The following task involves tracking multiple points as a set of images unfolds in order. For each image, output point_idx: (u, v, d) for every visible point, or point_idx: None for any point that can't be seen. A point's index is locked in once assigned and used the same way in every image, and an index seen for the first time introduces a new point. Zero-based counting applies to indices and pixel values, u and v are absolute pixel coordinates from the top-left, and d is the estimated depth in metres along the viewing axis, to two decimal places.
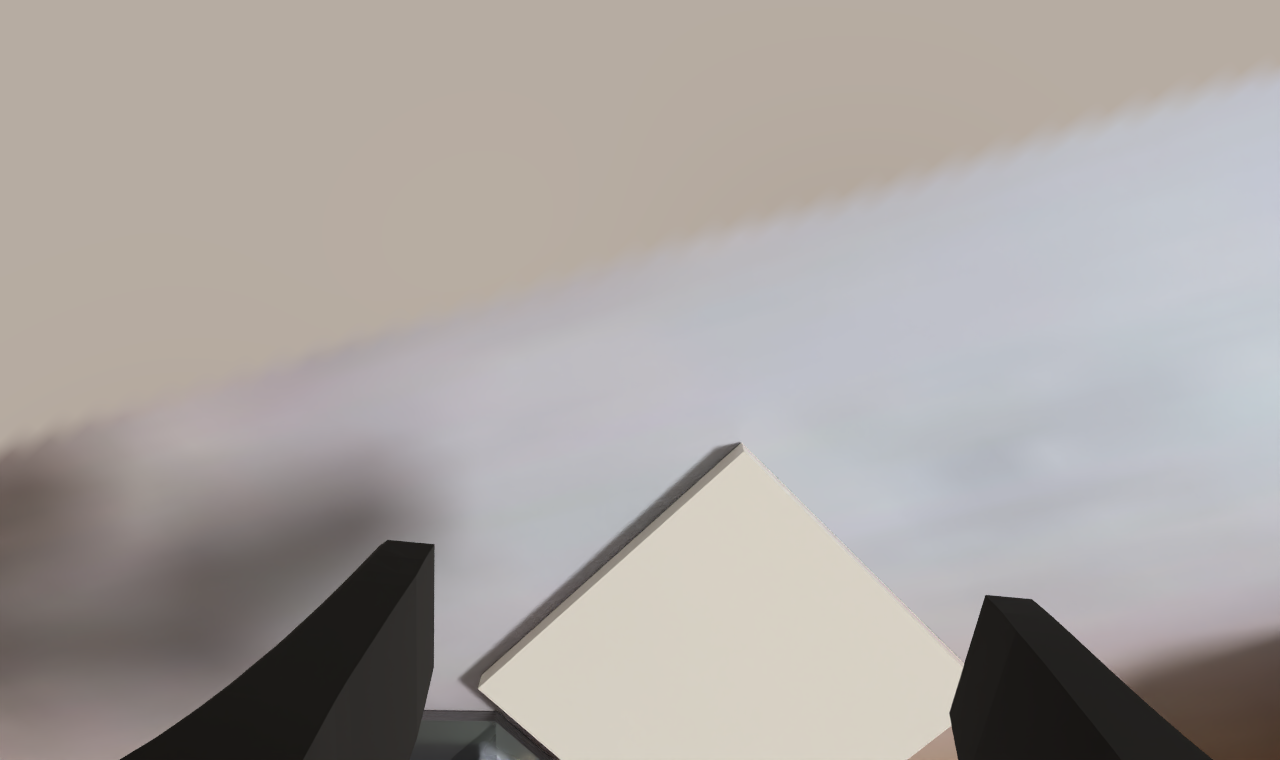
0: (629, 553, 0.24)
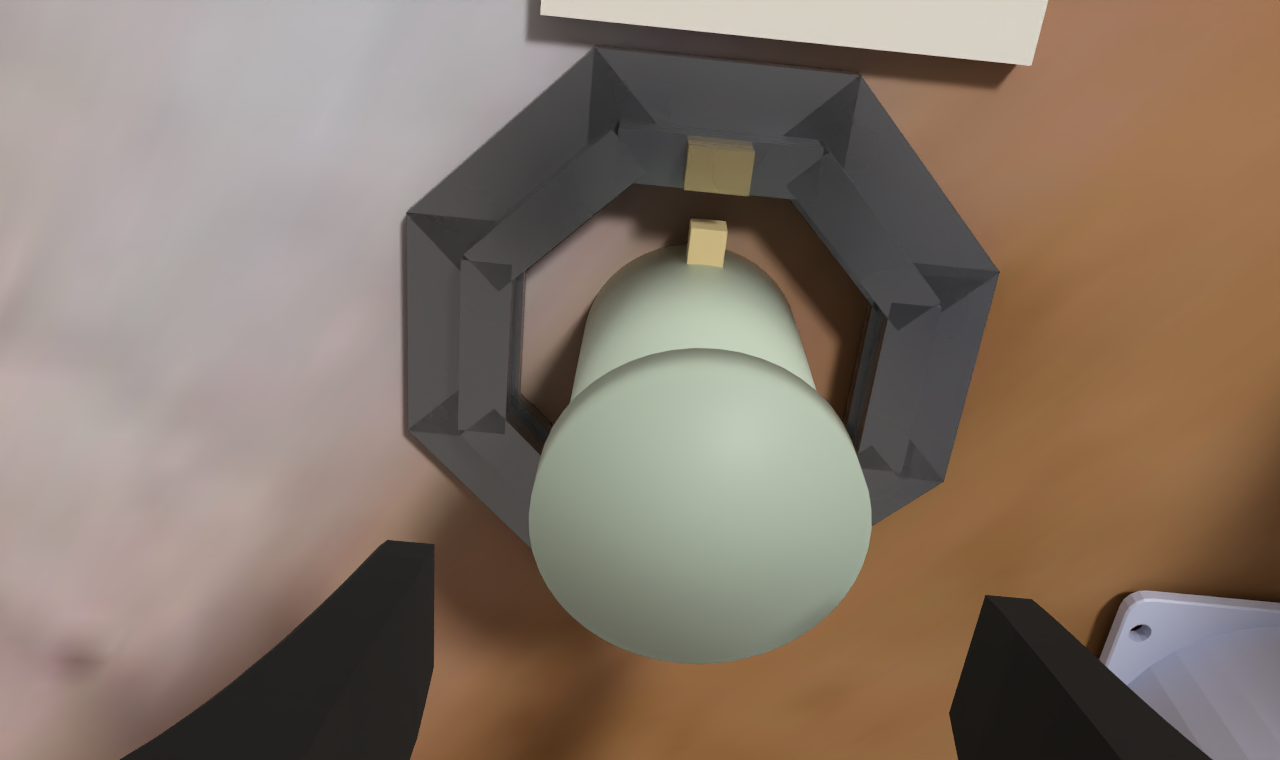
0: None
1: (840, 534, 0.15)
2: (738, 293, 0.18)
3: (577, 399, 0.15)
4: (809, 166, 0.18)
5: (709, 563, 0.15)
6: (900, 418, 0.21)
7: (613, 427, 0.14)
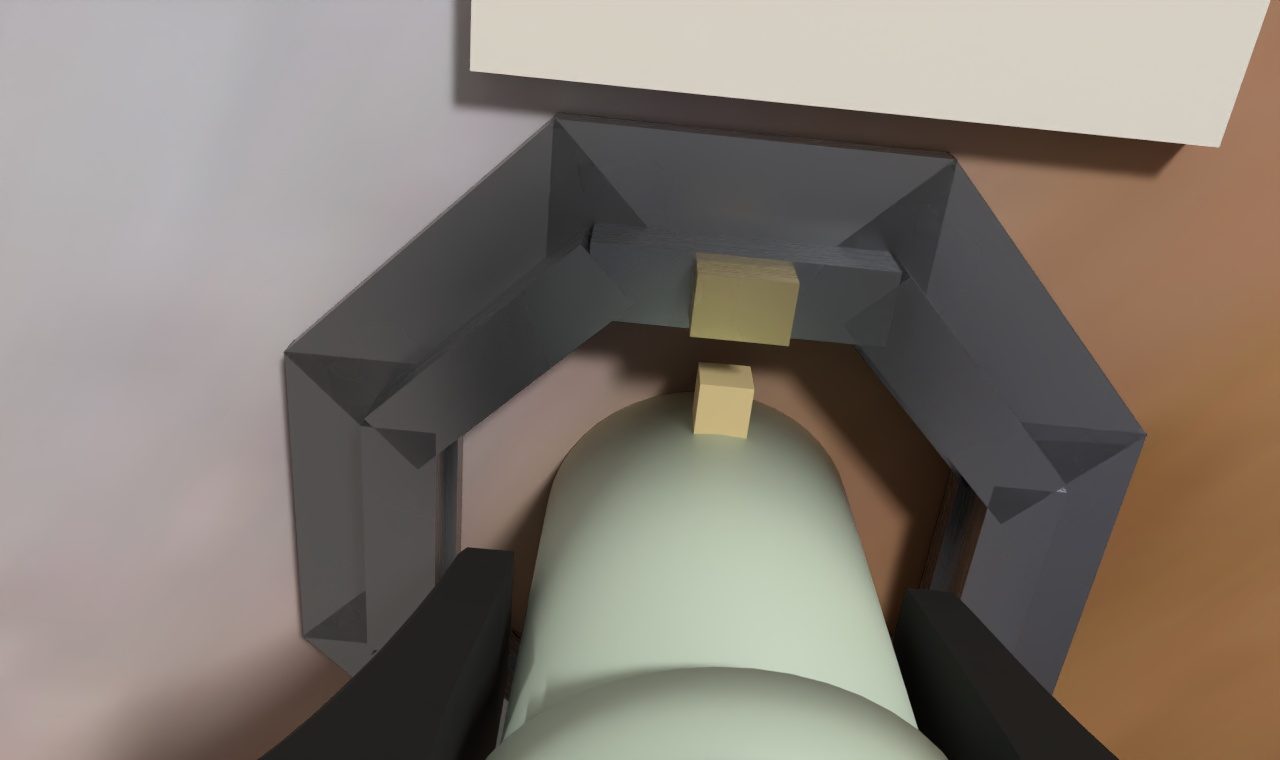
0: None
1: None
2: (772, 493, 0.12)
3: (511, 747, 0.09)
4: (879, 297, 0.12)
5: None
6: (998, 637, 0.14)
7: None
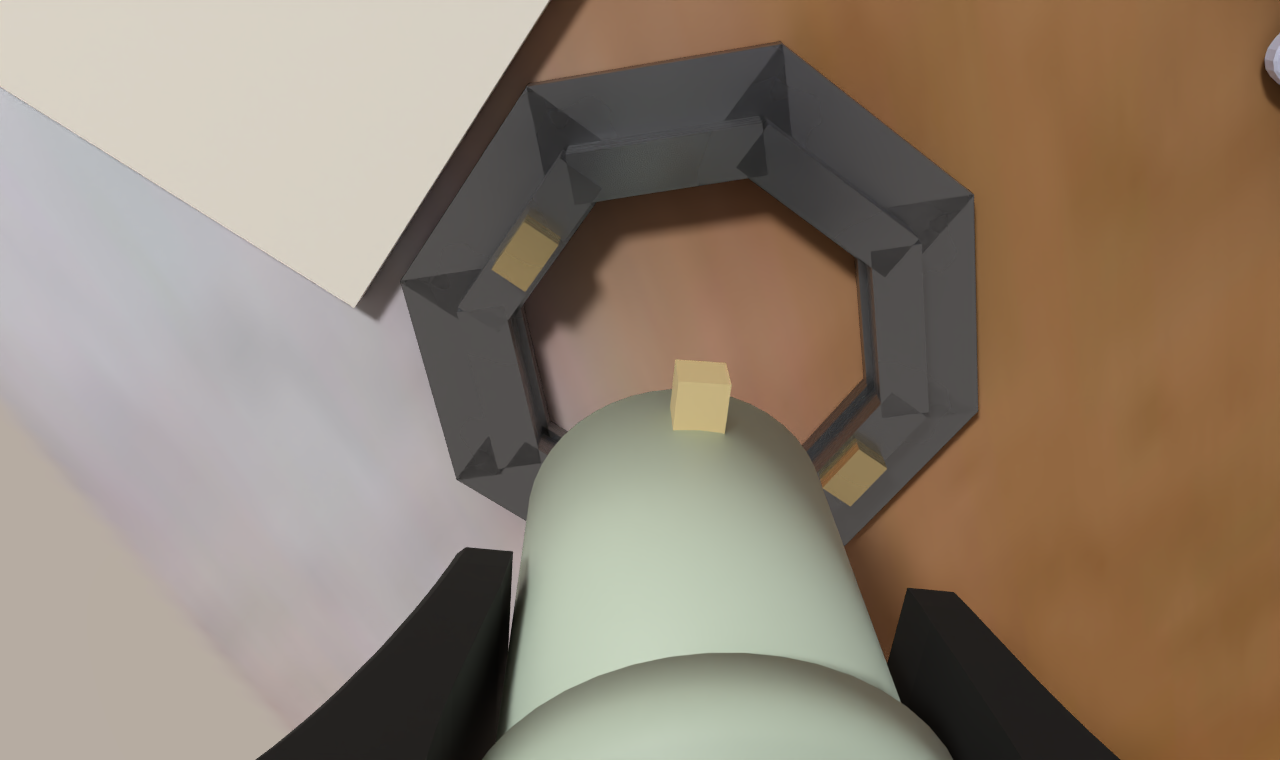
0: (123, 162, 0.20)
1: None
2: (752, 486, 0.12)
3: (511, 740, 0.09)
4: (568, 177, 0.19)
5: None
6: (860, 213, 0.19)
7: None
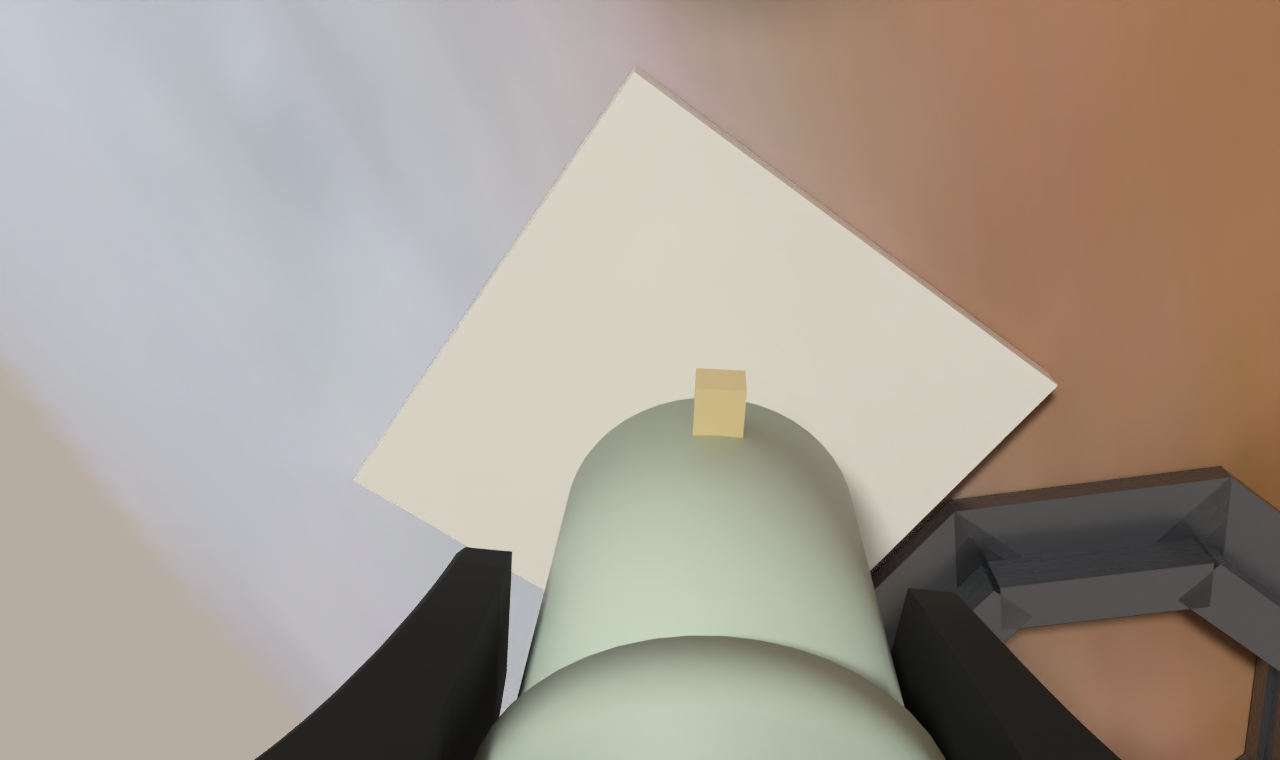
0: (522, 576, 0.19)
1: None
2: (763, 487, 0.13)
3: (509, 716, 0.10)
4: (1000, 606, 0.18)
5: None
6: None
7: None
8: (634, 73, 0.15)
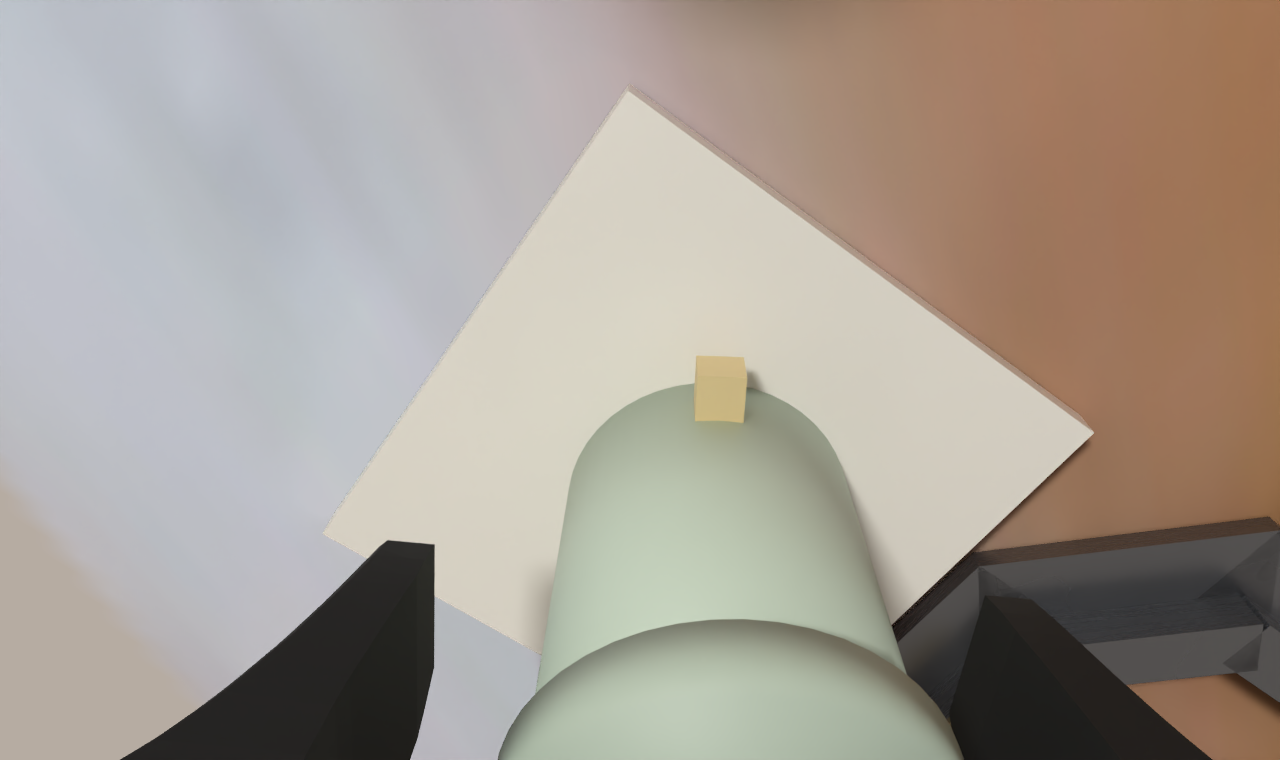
0: (508, 635, 0.18)
1: None
2: (767, 471, 0.13)
3: (540, 700, 0.10)
4: None
5: None
6: None
7: None
8: (628, 92, 0.13)
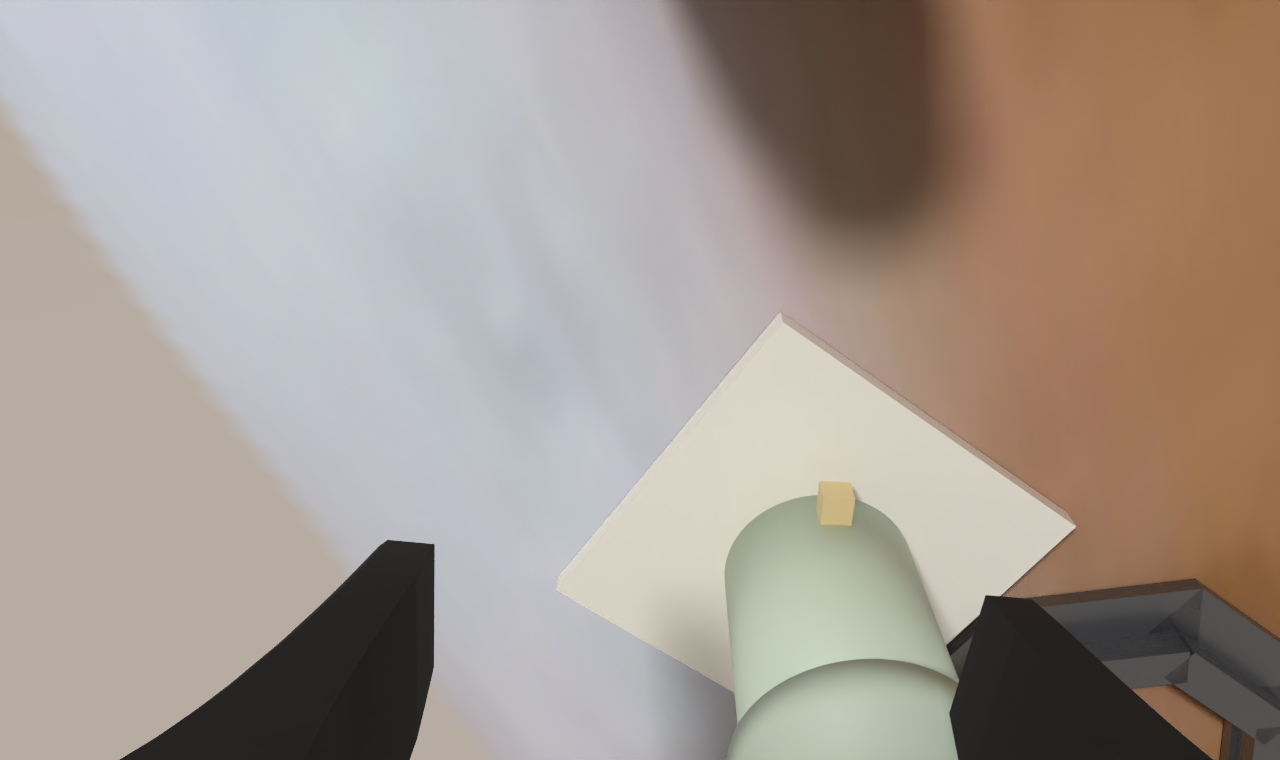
0: (675, 658, 0.26)
1: None
2: (871, 561, 0.21)
3: (763, 703, 0.18)
4: None
5: None
6: (1253, 705, 0.25)
7: (800, 737, 0.17)
8: (783, 323, 0.22)
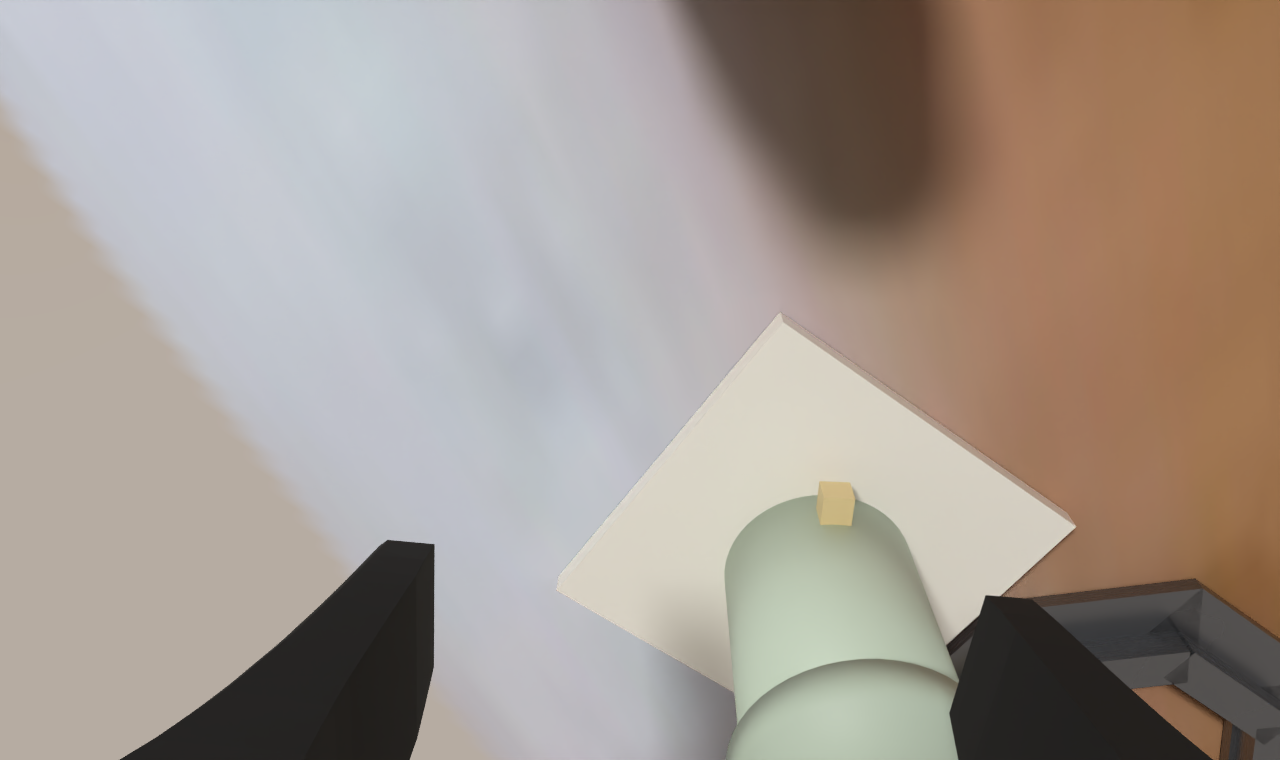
0: (675, 658, 0.26)
1: None
2: (871, 561, 0.21)
3: (762, 703, 0.18)
4: None
5: None
6: (1253, 705, 0.25)
7: (800, 737, 0.17)
8: (783, 323, 0.22)
